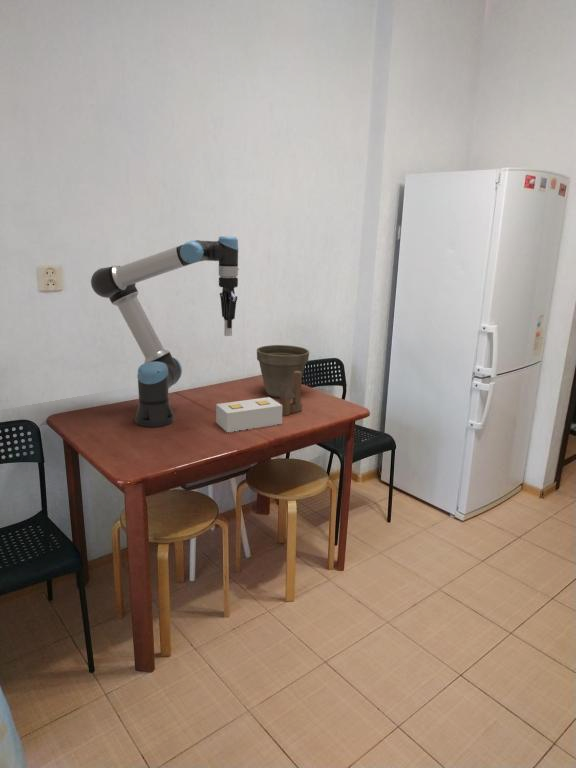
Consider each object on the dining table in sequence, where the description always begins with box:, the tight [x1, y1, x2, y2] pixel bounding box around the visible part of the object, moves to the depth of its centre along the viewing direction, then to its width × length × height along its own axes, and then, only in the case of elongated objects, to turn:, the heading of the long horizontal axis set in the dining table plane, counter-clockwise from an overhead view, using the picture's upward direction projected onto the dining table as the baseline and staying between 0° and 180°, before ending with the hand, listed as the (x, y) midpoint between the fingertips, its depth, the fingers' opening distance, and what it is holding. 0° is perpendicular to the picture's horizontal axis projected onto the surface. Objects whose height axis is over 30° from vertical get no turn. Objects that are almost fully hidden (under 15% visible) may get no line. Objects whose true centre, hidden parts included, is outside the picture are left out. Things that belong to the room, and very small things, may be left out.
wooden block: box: [278, 371, 303, 417], centre depth 231 cm, size 4×11×18 cm, turn 135°
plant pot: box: [256, 344, 310, 398], centre depth 257 cm, size 25×25×22 cm
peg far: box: [256, 401, 269, 405], centre depth 220 cm, size 4×4×8 cm
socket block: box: [215, 396, 283, 434], centre depth 218 cm, size 24×12×8 cm, turn 118°
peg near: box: [229, 404, 242, 409], centre depth 215 cm, size 4×4×8 cm
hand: (228, 335), depth 218 cm, fingers closed
